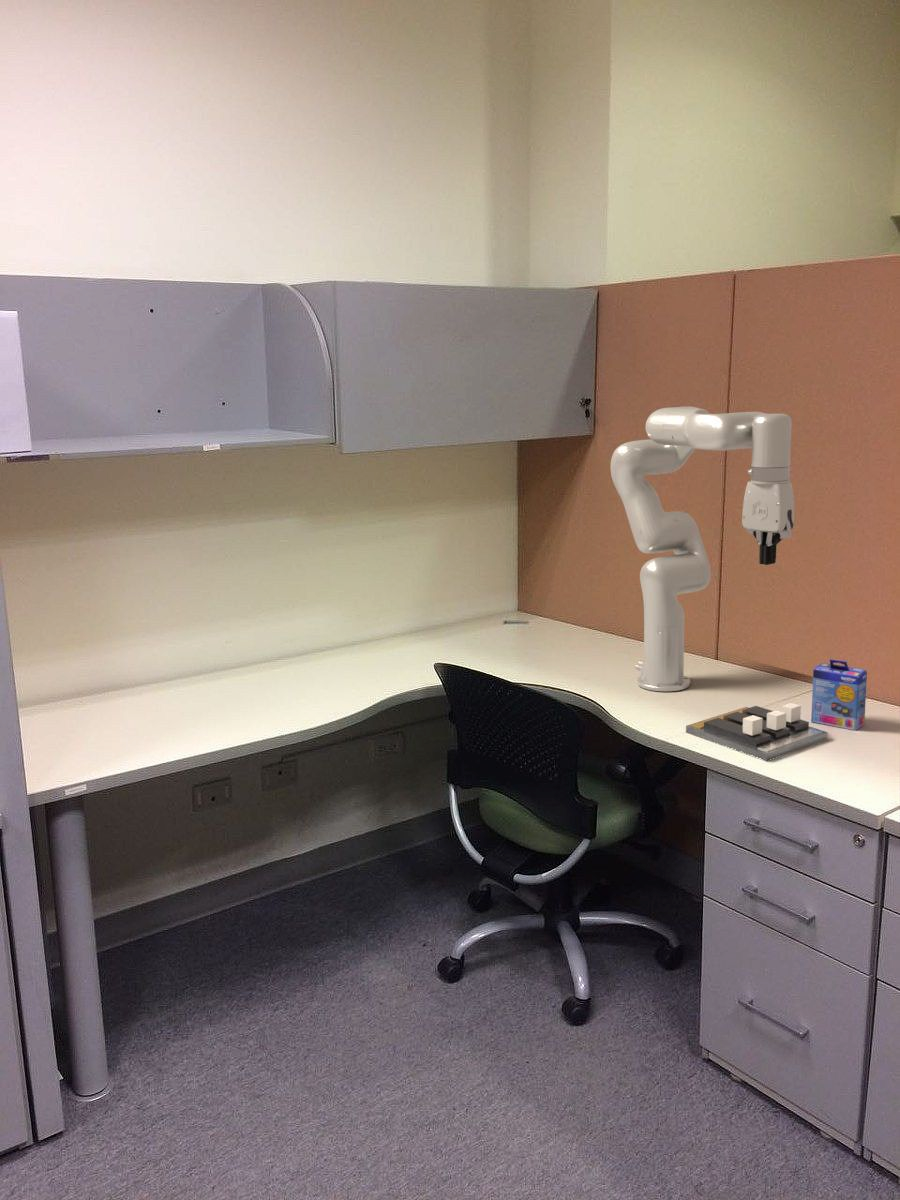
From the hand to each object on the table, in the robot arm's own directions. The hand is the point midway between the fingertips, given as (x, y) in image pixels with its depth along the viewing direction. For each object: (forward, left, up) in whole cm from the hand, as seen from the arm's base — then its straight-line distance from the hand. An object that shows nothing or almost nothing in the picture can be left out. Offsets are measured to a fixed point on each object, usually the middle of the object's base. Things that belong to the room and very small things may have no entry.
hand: (767, 563), depth 210 cm
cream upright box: (+8, -13, -32) cm, 35 cm away
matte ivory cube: (+9, -7, -32) cm, 34 cm away
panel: (+4, -7, -35) cm, 36 cm away
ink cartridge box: (+10, +12, -35) cm, 39 cm away
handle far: (+8, -1, -32) cm, 33 cm away
